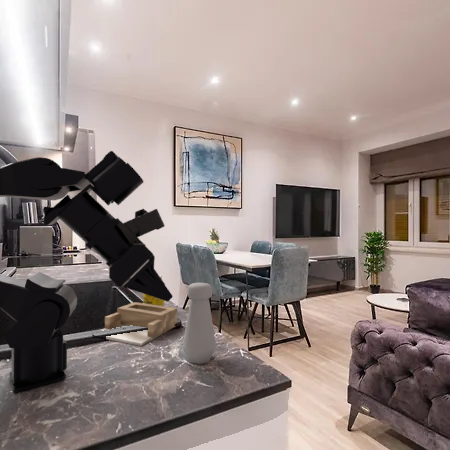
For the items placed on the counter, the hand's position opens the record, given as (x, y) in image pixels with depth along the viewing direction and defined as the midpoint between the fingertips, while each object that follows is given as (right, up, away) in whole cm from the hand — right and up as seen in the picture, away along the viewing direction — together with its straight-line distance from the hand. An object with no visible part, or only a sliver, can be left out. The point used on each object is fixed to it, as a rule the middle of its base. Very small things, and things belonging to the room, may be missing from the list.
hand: (166, 292), depth 52 cm
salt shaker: (+5, -12, +2) cm, 13 cm away
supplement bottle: (-9, -12, +29) cm, 32 cm away
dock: (-9, -12, +15) cm, 21 cm away
